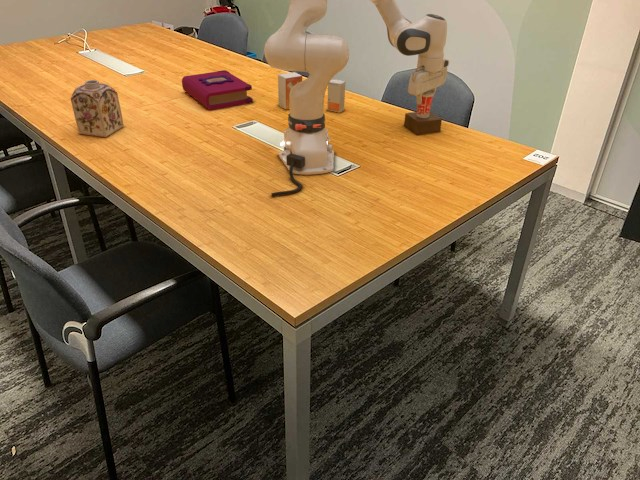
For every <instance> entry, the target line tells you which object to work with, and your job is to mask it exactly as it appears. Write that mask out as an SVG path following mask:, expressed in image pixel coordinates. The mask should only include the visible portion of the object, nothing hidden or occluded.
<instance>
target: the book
mask: <svg viewBox="0 0 640 480" xmlns="http://www.w3.org/2000/svg"><path fill="white" fill-rule="evenodd" d="M181 86H182V90H183V91H184V92H186V94H188V95H189V96H191V97H192V98H193V99H195V100H196V101H197V102H199V103H200V104H201V105H202V106H204V107H205V108H206V109H208V110H210V111H212V110H213V111H214V110H220V109H225V108H229V107H230V108H231V107H236V106H241V105H249V104H253V102H254V99H253V97H250V96H249V95H248V91H252V90H253V86H252V84H250V83H247V82H246V81H245V80H243V79H241V78H240V77H237V76H235V75H234V74H232V73H231V72H230V71H228V70H226V69H224V70H223V69H222V70H216V71H211V72H205V73H197V74H190V75H184V76H183V77H182V79H181Z"/></svg>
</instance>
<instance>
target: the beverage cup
mask: <svg viewBox="0 0 640 480" xmlns="http://www.w3.org/2000/svg"><path fill="white" fill-rule="evenodd" d="M433 96H435V94H434V92H433V91H430V90H429V91H426V92H424V93H423V94H422V96H421V97H422V99H423V103H422V104H420V105H419V104H417V103H416V112H417V117H420V118H428V117H429V114H430V112H431V108H432V104H433V100H434V97H433Z"/></svg>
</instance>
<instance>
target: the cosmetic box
mask: <svg viewBox="0 0 640 480" xmlns="http://www.w3.org/2000/svg"><path fill="white" fill-rule="evenodd" d="M346 82H347V81H346V80H340V79H334V78H332V79H331V81H330V82H329V84H328V86H327V101H326V102H327V104H326V105H327V106H326V111H330V112H334V113H339V114H341V113H342V112H344V110H345V101H346Z"/></svg>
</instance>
